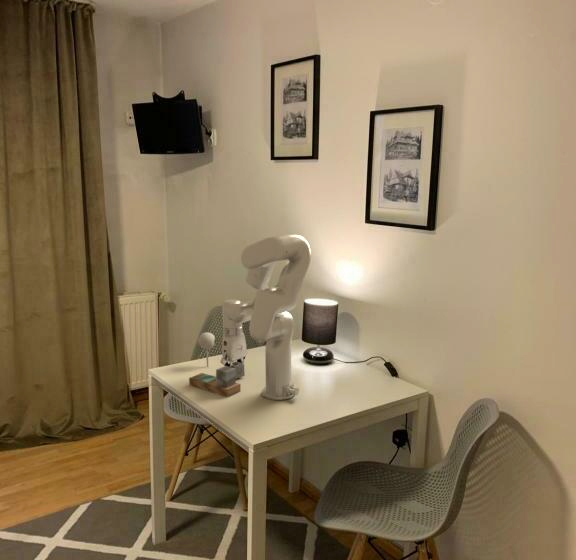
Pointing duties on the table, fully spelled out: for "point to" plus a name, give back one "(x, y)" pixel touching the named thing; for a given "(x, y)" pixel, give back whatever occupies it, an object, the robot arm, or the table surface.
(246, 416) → the table surface
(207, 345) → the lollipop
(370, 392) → the table surface
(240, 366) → the dice cube
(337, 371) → the table surface
